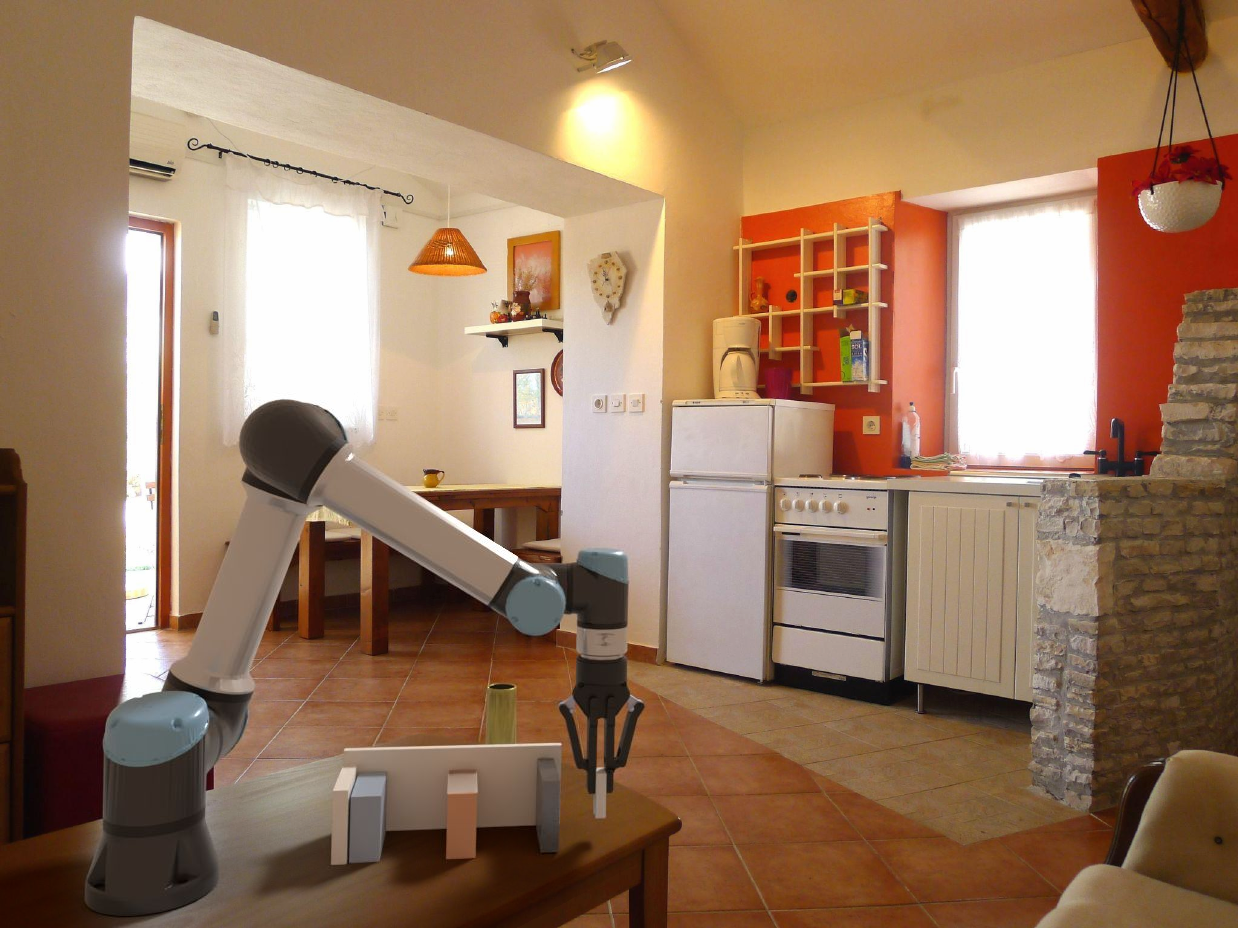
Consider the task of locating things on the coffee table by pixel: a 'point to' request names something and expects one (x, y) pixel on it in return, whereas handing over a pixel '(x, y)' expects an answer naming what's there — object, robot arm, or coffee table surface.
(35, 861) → the coffee table surface
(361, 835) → the blue book
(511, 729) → the vase
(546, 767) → the bookend
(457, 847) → the rust book
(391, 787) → the white upright backboard
